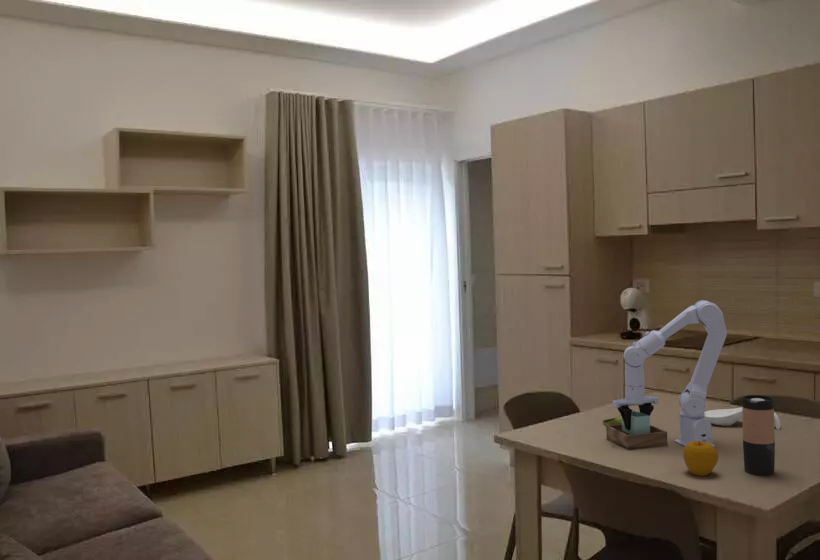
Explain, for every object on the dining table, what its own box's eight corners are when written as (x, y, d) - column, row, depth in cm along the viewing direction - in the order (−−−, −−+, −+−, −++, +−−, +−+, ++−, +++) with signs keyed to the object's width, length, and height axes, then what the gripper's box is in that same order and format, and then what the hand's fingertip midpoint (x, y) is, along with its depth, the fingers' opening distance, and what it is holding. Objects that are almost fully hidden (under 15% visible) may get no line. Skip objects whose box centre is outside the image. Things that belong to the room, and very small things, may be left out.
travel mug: (765, 467, 191) (764, 394, 190) (781, 476, 183) (780, 400, 182) (738, 468, 191) (736, 395, 190) (752, 477, 183) (751, 401, 182)
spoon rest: (699, 426, 235) (699, 405, 235) (704, 418, 245) (703, 398, 245) (779, 433, 223) (779, 411, 223) (780, 424, 234) (780, 403, 233)
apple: (723, 473, 187) (722, 440, 187) (710, 481, 181) (709, 447, 181) (691, 467, 194) (691, 435, 193) (678, 474, 188) (677, 442, 187)
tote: (636, 429, 223) (635, 410, 223) (650, 435, 215) (649, 415, 215) (621, 430, 222) (621, 412, 222) (635, 436, 214) (634, 417, 214)
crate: (667, 446, 214) (667, 431, 214) (628, 450, 211) (627, 436, 211) (644, 435, 227) (643, 421, 226) (606, 439, 224) (606, 425, 224)
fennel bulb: (633, 415, 245) (601, 423, 243) (634, 405, 242) (601, 412, 241) (641, 426, 240) (608, 434, 239) (642, 415, 237) (608, 423, 236)
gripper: (648, 380, 223) (649, 423, 224) (607, 384, 220) (608, 427, 221) (661, 384, 217) (662, 428, 217) (618, 388, 213) (619, 433, 214)
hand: (636, 428), depth 219 cm, fingers closed on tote, 5 cm apart
